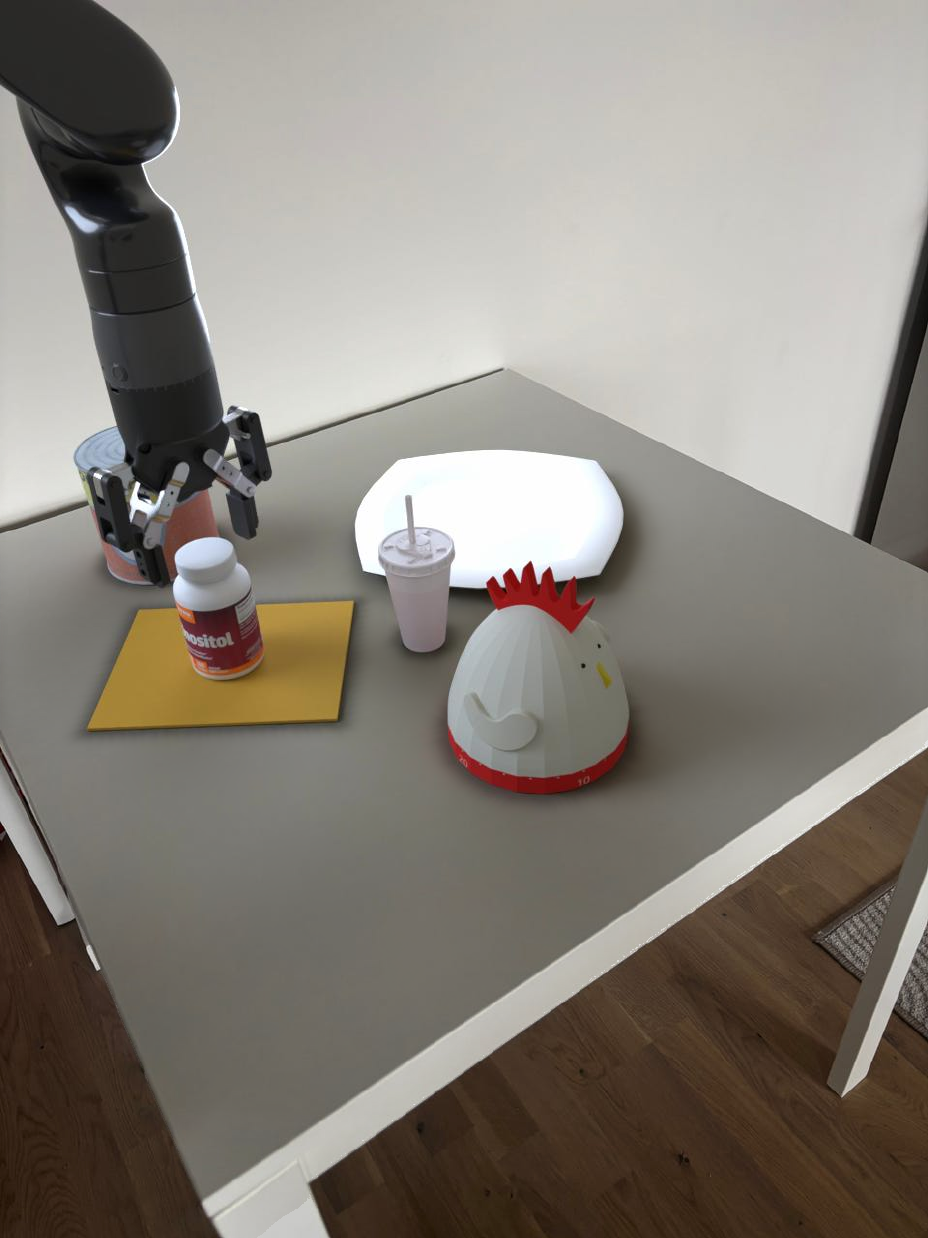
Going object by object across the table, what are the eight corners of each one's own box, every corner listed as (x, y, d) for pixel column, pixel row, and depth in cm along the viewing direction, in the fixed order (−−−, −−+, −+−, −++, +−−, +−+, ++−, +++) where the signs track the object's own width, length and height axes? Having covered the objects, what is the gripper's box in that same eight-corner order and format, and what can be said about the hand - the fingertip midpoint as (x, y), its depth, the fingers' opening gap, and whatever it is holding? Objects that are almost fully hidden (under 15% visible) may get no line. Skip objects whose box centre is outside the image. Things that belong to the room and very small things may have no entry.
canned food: (90, 584, 94) (53, 474, 87) (131, 524, 103) (100, 419, 96) (202, 585, 93) (174, 474, 86) (234, 524, 102) (211, 419, 95)
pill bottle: (179, 676, 82) (147, 568, 75) (215, 633, 86) (189, 527, 80) (244, 689, 80) (218, 579, 73) (278, 644, 85) (256, 536, 78)
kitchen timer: (576, 820, 68) (582, 653, 59) (413, 752, 74) (396, 590, 65) (656, 703, 77) (671, 543, 68) (505, 651, 83) (501, 498, 74)
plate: (380, 464, 111) (379, 448, 110) (618, 465, 109) (619, 449, 107) (333, 601, 90) (331, 584, 89) (627, 607, 87) (629, 589, 86)
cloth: (87, 731, 77) (86, 728, 77) (139, 612, 90) (138, 609, 90) (337, 721, 77) (337, 718, 77) (354, 603, 90) (353, 600, 90)
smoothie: (435, 608, 88) (425, 472, 80) (474, 643, 84) (468, 503, 76) (374, 634, 86) (357, 495, 77) (411, 672, 81) (397, 529, 73)
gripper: (205, 321, 74) (242, 508, 83) (36, 383, 65) (99, 583, 75) (271, 342, 70) (302, 535, 79) (100, 410, 61) (158, 618, 71)
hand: (203, 558), depth 77 cm, fingers open, 8 cm apart
